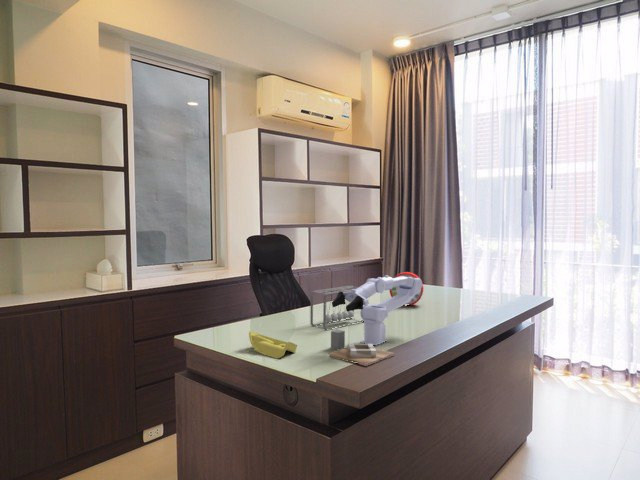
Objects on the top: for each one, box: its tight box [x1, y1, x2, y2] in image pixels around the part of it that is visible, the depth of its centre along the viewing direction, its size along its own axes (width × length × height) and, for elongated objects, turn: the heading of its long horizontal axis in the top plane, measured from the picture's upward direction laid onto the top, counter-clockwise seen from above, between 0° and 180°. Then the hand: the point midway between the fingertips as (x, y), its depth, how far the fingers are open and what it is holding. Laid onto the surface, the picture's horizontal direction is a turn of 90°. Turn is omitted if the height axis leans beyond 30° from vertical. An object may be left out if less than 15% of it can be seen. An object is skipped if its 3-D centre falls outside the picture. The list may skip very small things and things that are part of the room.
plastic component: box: [248, 330, 298, 359], centre depth 182 cm, size 20×7×10 cm
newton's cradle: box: [310, 285, 363, 331], centre depth 228 cm, size 30×10×18 cm, turn 132°
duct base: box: [328, 343, 395, 364], centre depth 177 cm, size 18×18×4 cm
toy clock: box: [388, 271, 424, 306], centre depth 278 cm, size 20×6×20 cm, turn 73°
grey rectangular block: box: [330, 328, 346, 350], centre depth 188 cm, size 4×4×7 cm
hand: (339, 306), depth 181 cm, fingers open, 7 cm apart
